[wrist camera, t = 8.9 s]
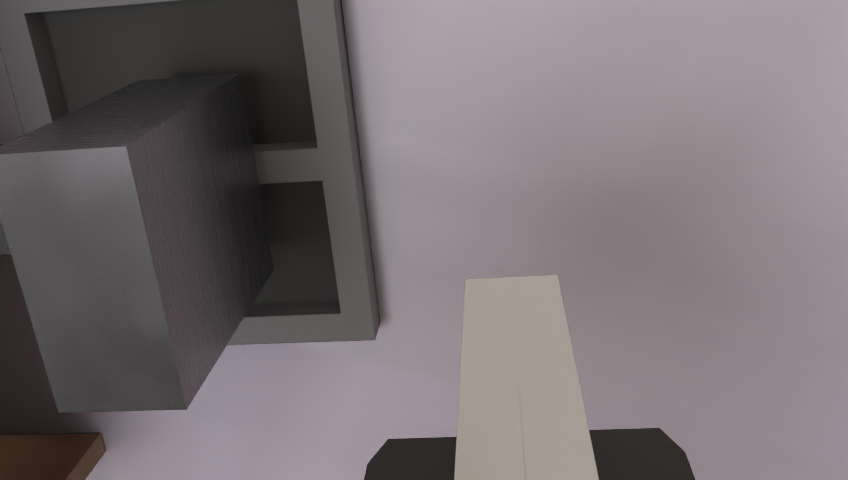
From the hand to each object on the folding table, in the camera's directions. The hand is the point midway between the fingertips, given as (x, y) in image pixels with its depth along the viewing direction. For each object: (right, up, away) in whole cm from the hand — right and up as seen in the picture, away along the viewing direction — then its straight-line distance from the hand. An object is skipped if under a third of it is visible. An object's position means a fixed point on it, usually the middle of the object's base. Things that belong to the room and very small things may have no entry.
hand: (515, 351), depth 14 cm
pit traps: (-8, +4, +12) cm, 15 cm away
